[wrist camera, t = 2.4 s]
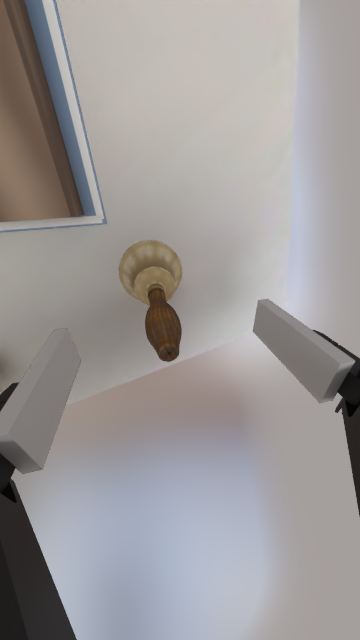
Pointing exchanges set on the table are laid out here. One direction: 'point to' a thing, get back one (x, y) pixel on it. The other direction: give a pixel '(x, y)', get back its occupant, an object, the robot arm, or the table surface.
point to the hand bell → (155, 292)
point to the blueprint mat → (63, 119)
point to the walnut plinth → (29, 130)
